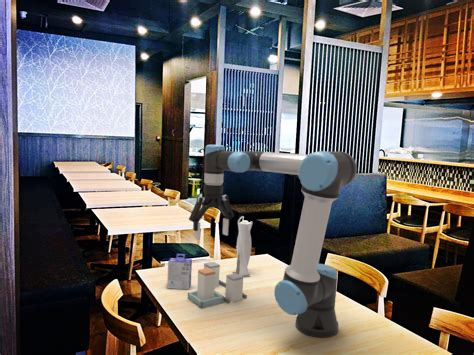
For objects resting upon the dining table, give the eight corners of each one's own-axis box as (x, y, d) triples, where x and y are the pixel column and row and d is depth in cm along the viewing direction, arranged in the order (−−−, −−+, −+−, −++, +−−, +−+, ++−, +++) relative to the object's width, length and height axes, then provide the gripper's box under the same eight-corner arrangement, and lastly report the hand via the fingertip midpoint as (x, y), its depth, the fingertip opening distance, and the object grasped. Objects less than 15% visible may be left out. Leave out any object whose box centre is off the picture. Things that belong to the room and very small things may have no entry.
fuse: (214, 300, 165) (215, 271, 164) (203, 302, 162) (204, 273, 161) (207, 295, 169) (208, 267, 168) (197, 298, 166) (198, 269, 165)
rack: (246, 298, 170) (247, 275, 169) (227, 303, 164) (228, 280, 163) (216, 281, 187) (217, 260, 186) (198, 285, 181) (199, 264, 180)
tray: (223, 302, 165) (223, 296, 164) (201, 308, 158) (201, 302, 158) (209, 293, 173) (209, 287, 173) (187, 298, 167) (187, 292, 166)
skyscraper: (231, 271, 201) (234, 216, 198) (246, 270, 204) (249, 215, 200) (236, 277, 193) (239, 219, 190) (252, 276, 196) (255, 219, 192)
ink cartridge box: (191, 285, 181) (192, 253, 180) (189, 290, 176) (190, 257, 174) (169, 284, 181) (170, 252, 180) (166, 288, 176) (167, 256, 174)
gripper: (232, 181, 171) (230, 231, 173) (181, 184, 156) (179, 238, 158) (244, 183, 165) (241, 234, 167) (191, 186, 150) (189, 242, 152)
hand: (211, 236), depth 163 cm, fingers open, 13 cm apart
